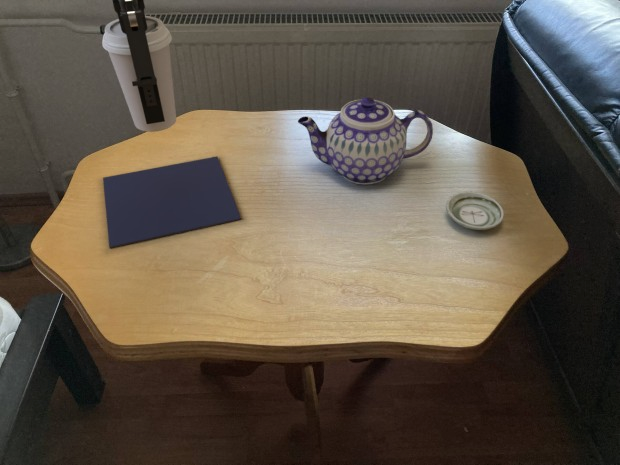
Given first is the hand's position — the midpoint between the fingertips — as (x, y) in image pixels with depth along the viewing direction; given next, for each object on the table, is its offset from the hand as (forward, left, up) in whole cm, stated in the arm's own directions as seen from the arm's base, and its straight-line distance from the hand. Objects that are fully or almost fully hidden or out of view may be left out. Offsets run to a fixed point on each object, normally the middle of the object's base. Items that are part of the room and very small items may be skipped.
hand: (152, 109), depth 80 cm
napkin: (-1, +1, -18) cm, 19 cm away
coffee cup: (0, 0, -2) cm, 2 cm away
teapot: (+36, -2, -19) cm, 41 cm away
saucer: (+48, -22, -19) cm, 56 cm away
